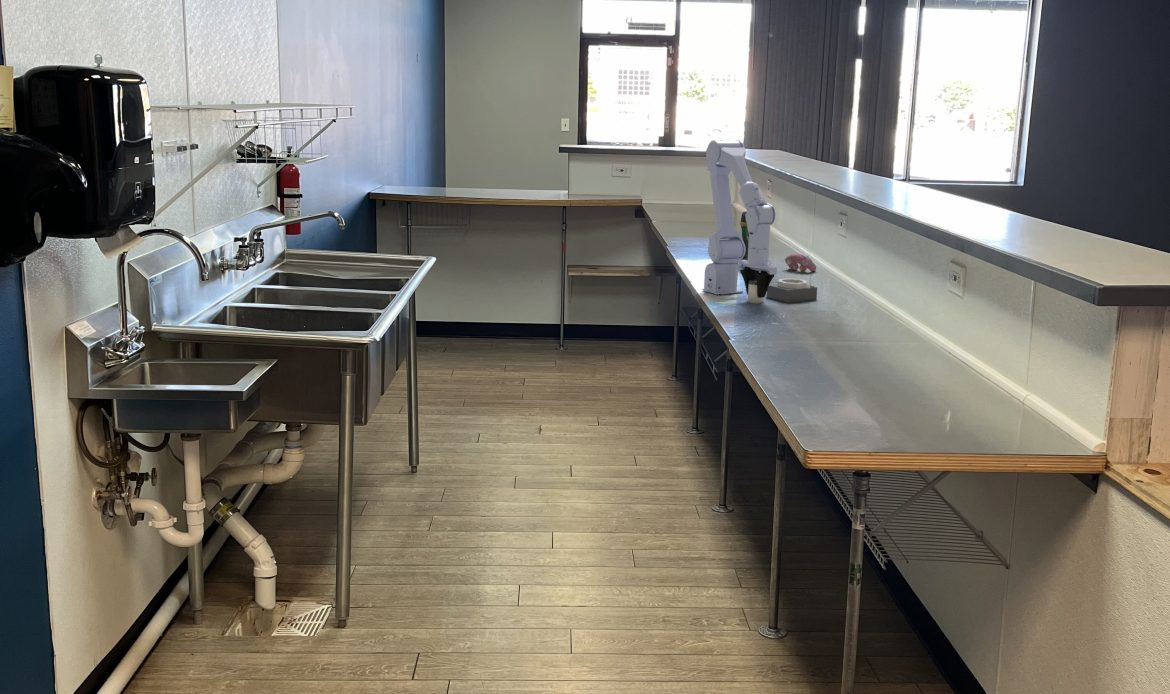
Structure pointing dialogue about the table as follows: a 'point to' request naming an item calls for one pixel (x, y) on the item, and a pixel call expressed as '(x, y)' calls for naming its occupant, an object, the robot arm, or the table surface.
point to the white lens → (753, 292)
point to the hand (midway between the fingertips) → (755, 295)
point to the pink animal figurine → (800, 262)
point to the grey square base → (792, 290)
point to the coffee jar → (745, 234)
